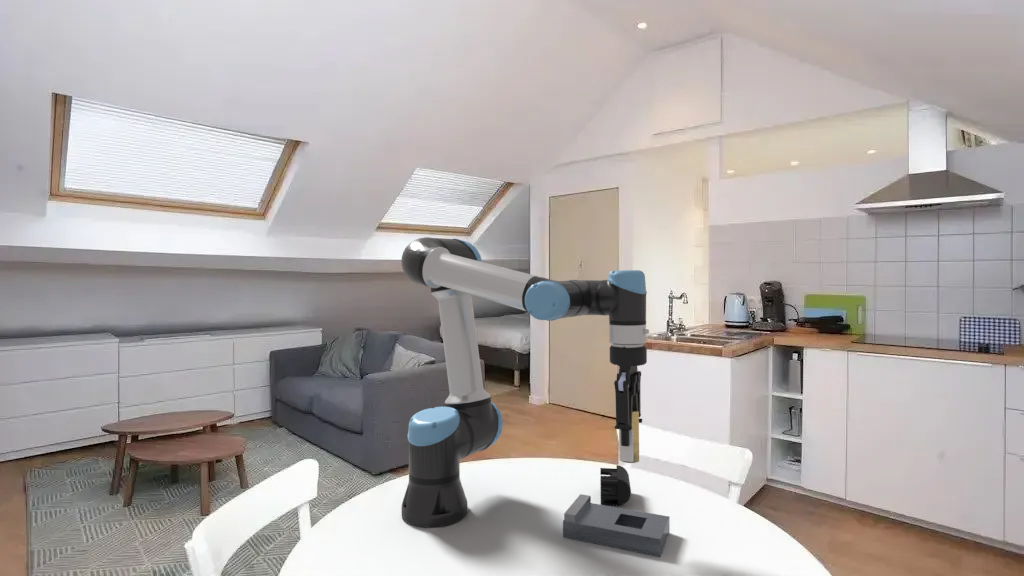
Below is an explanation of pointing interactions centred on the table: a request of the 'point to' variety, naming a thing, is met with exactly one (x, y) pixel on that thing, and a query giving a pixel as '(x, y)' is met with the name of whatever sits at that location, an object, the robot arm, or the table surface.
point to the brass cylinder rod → (635, 435)
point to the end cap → (614, 486)
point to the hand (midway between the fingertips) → (629, 457)
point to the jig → (616, 527)
